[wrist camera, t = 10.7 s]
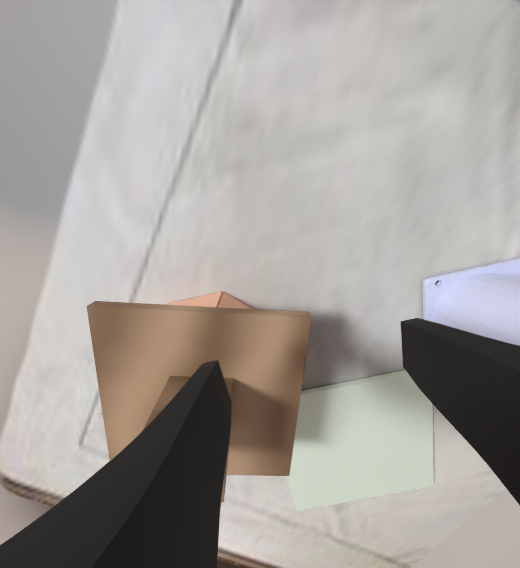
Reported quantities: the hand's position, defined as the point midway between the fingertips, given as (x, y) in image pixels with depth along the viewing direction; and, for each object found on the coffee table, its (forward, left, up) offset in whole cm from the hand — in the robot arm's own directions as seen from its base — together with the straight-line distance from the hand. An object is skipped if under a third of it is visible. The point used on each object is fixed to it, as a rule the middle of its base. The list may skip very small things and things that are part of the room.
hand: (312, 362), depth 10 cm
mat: (-4, +18, -10) cm, 21 cm away
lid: (+7, +5, -6) cm, 10 cm away
